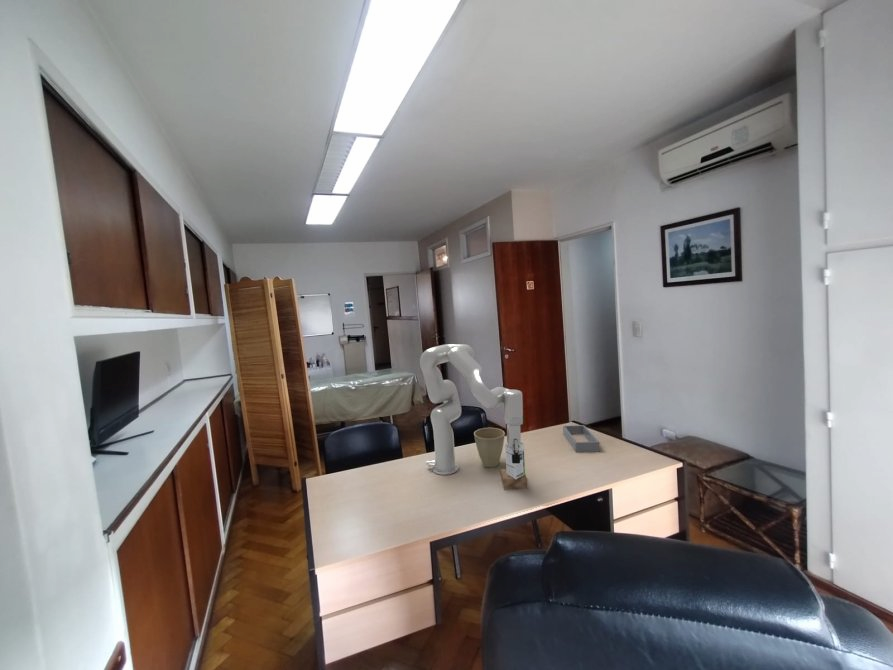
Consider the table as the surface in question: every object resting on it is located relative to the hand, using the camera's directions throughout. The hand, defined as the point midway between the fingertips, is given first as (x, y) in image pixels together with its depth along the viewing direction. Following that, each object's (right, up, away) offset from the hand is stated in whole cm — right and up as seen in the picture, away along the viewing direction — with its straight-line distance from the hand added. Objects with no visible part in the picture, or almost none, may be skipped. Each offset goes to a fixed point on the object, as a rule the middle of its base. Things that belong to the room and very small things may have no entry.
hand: (514, 458), depth 162 cm
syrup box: (+1, -8, +2) cm, 8 cm away
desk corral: (+44, -6, +45) cm, 63 cm away
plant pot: (-7, -11, +24) cm, 28 cm away
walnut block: (0, -13, +4) cm, 13 cm away
